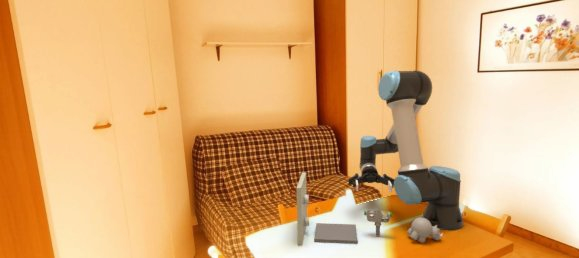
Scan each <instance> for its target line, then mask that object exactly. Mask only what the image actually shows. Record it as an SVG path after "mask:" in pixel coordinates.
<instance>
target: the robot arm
mask: <svg viewBox="0 0 579 258" xmlns="http://www.w3.org/2000/svg"><path fill="white" fill-rule="evenodd" d="M377 88H378V89H377V90H378V96H379V98H380V99H381V100H382V101H384V102H386V103H385V104H386V106H387V108H389V109H390V110H391V115H392V121H393V123H392V126H391V127H390V129H389V131H388V132H387V135H386V136H385V138H378V139H377V137H376V136H374V135H363V136H362V137H361V139H360V147H359V148H360V150H359V151H360V157H359V170H360V174H359V173H355V174H354V175H353V176H351V177H350V178H348V185H349V186H350V185H352V187H353V188H355V191H356V192H359V184H366V183H367V184H373V183H376V184H382V185H385V186H387V188H388V190H389V192H390V193H393V189H394V192H395V194H396V197H398V199H400V202H403V203H404V204H406V205H419V204H423V203H427V204H426V207H425V209H424V211H423V214H422V215H423V216H422V218H426V219H427V220H429V221H430V223H431V225H432V226H435V225H437V228H438V229H440V230H447V231H449V230H450V231H451V230H458V229H461V228H462V227H464V218H463V215H462V212H461V208H460V193H461V190H460V189H461V181H462V180H461V174H460V171H458V169H457V170H456V169H455V168H450V167H447V166H440V165H431V166H429V167H428V166H427V165H425V164H424V159H423V154H422V149H421V143H420V138H419V131H418V127H417V120H416V117H417V116H418V114H419V112H420V111H421V109H422V107H423V106H425V105H427V103H428V102H429V100H430V98H431V96H432V92H433V82H432V79H431V78H430V77H429V75H428V74H426V73H425V72H424V71H421V70H393V71H387V72H385V73H384V74H383V75H382V76H381V78H380V79H379V82H378V87H377ZM396 153H398V158H399V162H400V167H399V169H398V170H397V176H396V177H395V178H393V177H390V176H388V175H387V174H386V173H384V174H382V175H380V174H379V171H378V169H377V167H376V165H377V164H376V162H377V160H376V158H377V155H384V154H396Z"/></svg>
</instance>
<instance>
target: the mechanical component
mask: <svg viewBox="0 0 579 258" xmlns="http://www.w3.org/2000/svg"><path fill="white" fill-rule="evenodd" d="M363 214H364V216H366V220H367V222H369V223H370V222H372V223H374V225H373V226H375V237H377V238H380V235H381V226H382V223H385V224H386V223H389V222H391V218H392V217H393V212H392V211H391V212H390V211H387V213H386V214H384V213H383V211H382V209H381V210H380V209H366V210H365V211H363Z"/></svg>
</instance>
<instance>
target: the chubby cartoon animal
mask: <svg viewBox="0 0 579 258" xmlns="http://www.w3.org/2000/svg"><path fill="white" fill-rule="evenodd" d="M440 231H441V229H439V228H437V225H435V226H432V225H431V223H430V221H429V220H427V219H426V218H423V216H421V217H420V216H419V217H417V218H415V219H413V220H412V222H411V226H410V227H409V229H408V230H407V231H406V232H407V234H408V235H409V236H410V238H411V239H412V240H414V241H416V240H417V242H419V243H421V244H425V242H426V238H427V237H430V238H432V239H433V240H434V241H436V242H437V241H440V240H441V238H442V237H443V234H444V232H442V233H441V232H440Z"/></svg>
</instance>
